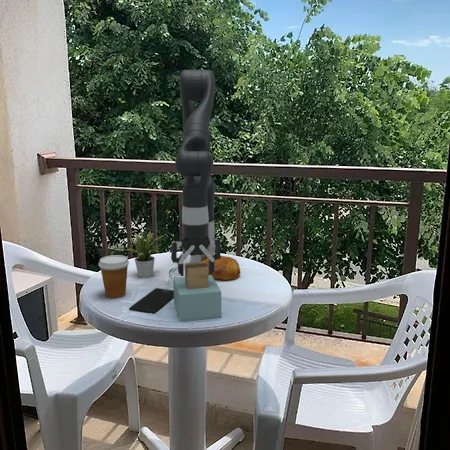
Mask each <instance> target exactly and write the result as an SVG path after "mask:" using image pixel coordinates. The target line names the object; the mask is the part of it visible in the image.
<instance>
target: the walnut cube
mask: <svg viewBox="0 0 450 450" xmlns="http://www.w3.org/2000/svg"><path fill="white" fill-rule="evenodd" d="M184 277H185V283H186V285H187V287H188V289H195V288H207V287H209V285H208V267H207V265H206V263H205V262H192V263H190V262H184Z"/></svg>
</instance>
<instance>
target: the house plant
mask: <svg viewBox="0 0 450 450" xmlns="http://www.w3.org/2000/svg"><path fill="white" fill-rule="evenodd" d="M154 234H155V232H151V231H149V233H148V235H147V237H146V238H145V237H144V235H143V231H140V236H139V235H138V234H137V233H136V232H134V236H135V239H134V240H133V239H132V238H130V237H128V239H129V241H131V242H132V243H133V245H134V246H135V248H134V249H133V248H127V249H126V251H132V252H134V253H136V254H137V257H135V258H134V263H135V267H136V271H137V276H138V277H139V278H141V279H142V278H144V279H145V278H150V277H153V274H154V267H155V266H154V265H155V256H152V255H153V254H154V253H155V252H156V253H158V254H160V251H159V250H160V249H161V248H159V247H160V246H162V244H159V245H155V243H157V242H160V241H162V240H163V239H162V238H163V237H164V236H165V235H160V236H158V237H156V238H154V239H153V235H154ZM152 239H153V240H152Z"/></svg>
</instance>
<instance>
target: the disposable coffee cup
mask: <svg viewBox="0 0 450 450" xmlns="http://www.w3.org/2000/svg"><path fill="white" fill-rule="evenodd" d="M129 264H130V261H129V259H128V257H127V256H125V255H120V254H116V255H115V254H112V255H107V256H103V257H101V258H100V260H99V262H98V266H99V268H100V273H101V278H102V283H103V288H104V291H105V297H107V298H111V299H118V298H122V297H124V296H126V292H127V278H128V266H129Z"/></svg>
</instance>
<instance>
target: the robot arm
mask: <svg viewBox="0 0 450 450" xmlns="http://www.w3.org/2000/svg"><path fill="white" fill-rule="evenodd" d="M178 82H179V94H180V101H181V109H182V139H183V140H182V144H181V147H180V148H179V150H178V152H177V155H176V157H175V161H174V167H175V170H176V172H177V173H178V175H179V176H181V177H184V186H183V187H182V211H181V213H182V214H181V219H182V220H181V221H182V224H181V225H182V226H181V227H182V239H181V241H176V240H172V241H171V251H170V252H171V254H170V257H171V261H172V263H173V264H175V263H176V264H177V272H178V274H179V275H180V277H185V267H184V263H185V261H186V259H187V258H188V257H189V256H190V257H189V258H190V259H189V260H190V262H189V263H192V262H203V261H204V260H206V259H207V258H209V273H210V274H212V272H214V262H215V260H217V259H220V258H221V256H222V255H221V243H220V240H219V238H217V237H215V194H216V193H215V190H216V189H215V187H216V186H215V181H214V179H213V177H211V174H212V171H213V168H214V156H213V155H212V153H210V152H211V132H210V130H209V127H210V120H211V115H212V110H213V107H214V102H215V101H214V99H215V95H216V77H215V73H214V72H213V71H212V70H209V69H184V70H182V71H181V73H180V75H179V81H178ZM193 101H201V103H200V104H199V105H198V106H197V108H195V106H194V104H193ZM180 247H182V248H183V250H182V252H181V253H180V255H179V257H178V256H177V255H178V252H177V251H178V250H179V249H180Z"/></svg>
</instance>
